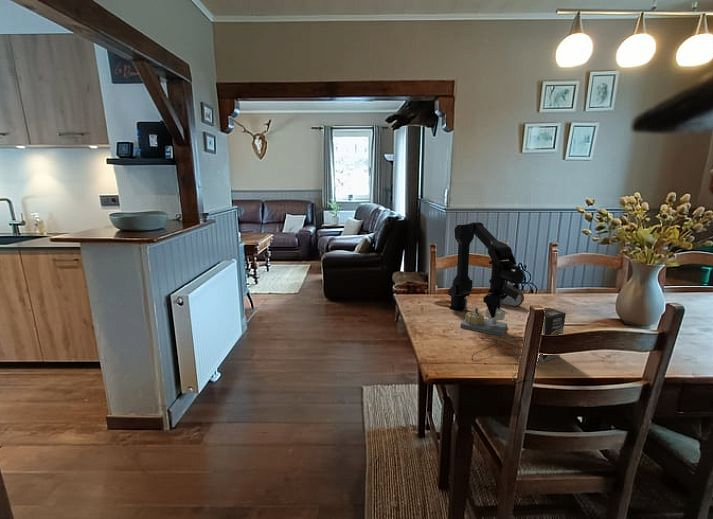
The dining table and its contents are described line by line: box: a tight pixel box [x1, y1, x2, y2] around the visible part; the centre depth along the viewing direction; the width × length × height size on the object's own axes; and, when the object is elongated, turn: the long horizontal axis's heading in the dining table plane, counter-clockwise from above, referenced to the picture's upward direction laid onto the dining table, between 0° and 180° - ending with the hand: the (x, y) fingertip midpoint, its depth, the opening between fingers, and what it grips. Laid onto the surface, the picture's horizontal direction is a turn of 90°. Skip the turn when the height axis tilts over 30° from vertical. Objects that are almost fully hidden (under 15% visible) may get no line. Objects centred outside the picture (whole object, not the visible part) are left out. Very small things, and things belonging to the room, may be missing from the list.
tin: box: [490, 291, 525, 307], centre depth 179 cm, size 15×3×8 cm, turn 58°
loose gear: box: [485, 307, 506, 322], centre depth 149 cm, size 7×7×3 cm
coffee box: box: [537, 307, 567, 363], centre depth 127 cm, size 9×6×16 cm
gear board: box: [460, 307, 508, 337], centre depth 152 cm, size 16×11×6 cm
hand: (495, 314), depth 149 cm, fingers closed on loose gear, 7 cm apart
